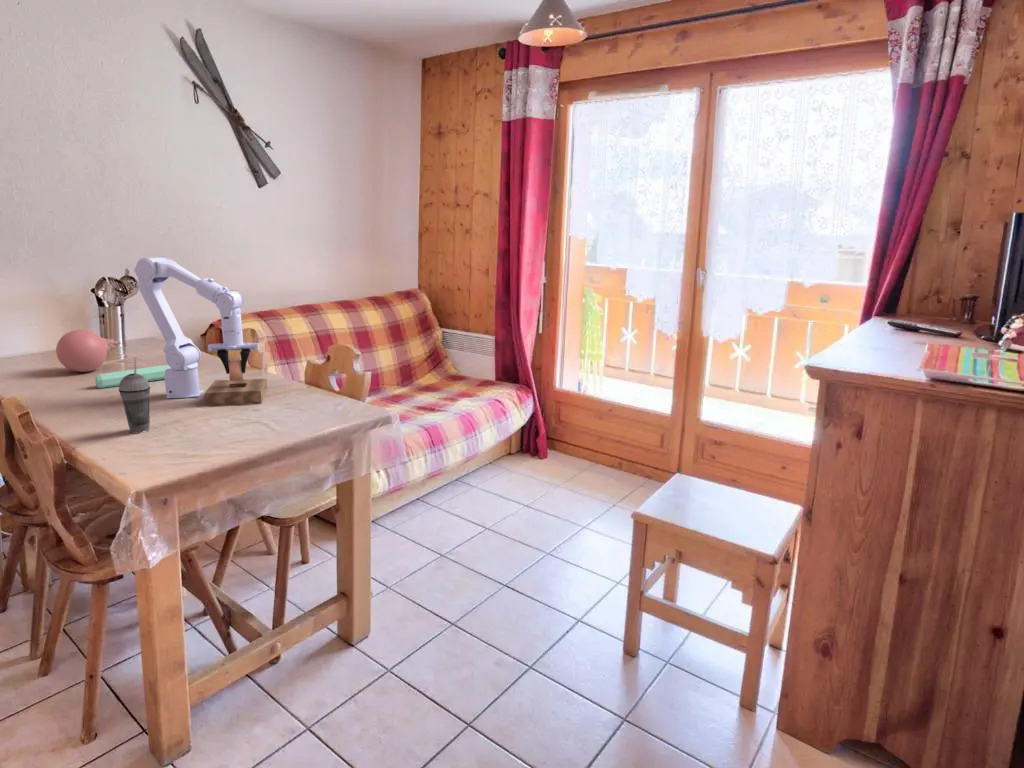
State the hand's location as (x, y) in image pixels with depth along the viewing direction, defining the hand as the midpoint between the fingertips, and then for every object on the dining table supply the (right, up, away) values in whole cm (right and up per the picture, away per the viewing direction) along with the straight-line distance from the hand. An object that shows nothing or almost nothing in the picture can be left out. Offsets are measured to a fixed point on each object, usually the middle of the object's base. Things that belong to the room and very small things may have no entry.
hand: (236, 372), depth 202 cm
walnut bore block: (0, -8, +2) cm, 8 cm away
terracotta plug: (0, -2, 0) cm, 2 cm away
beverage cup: (-12, -16, -31) cm, 37 cm away
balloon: (-67, +1, +33) cm, 74 cm away
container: (-41, -3, +18) cm, 45 cm away
